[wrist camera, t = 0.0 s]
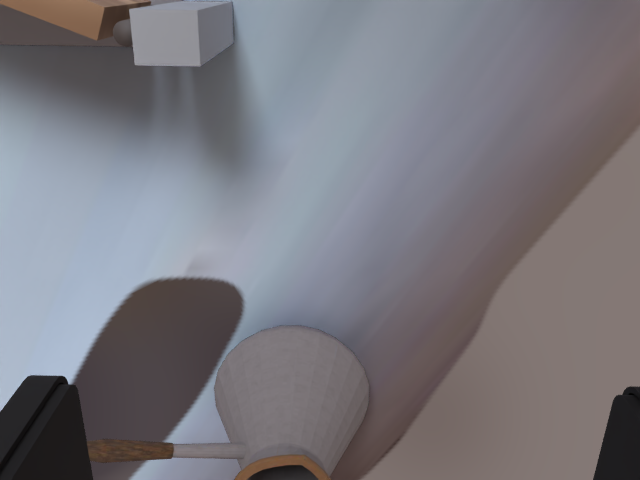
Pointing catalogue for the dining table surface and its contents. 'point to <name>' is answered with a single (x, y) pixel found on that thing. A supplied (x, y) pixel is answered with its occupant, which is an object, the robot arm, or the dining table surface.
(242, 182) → the dining table surface
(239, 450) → the coffee pot
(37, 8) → the door
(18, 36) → the doorframe
